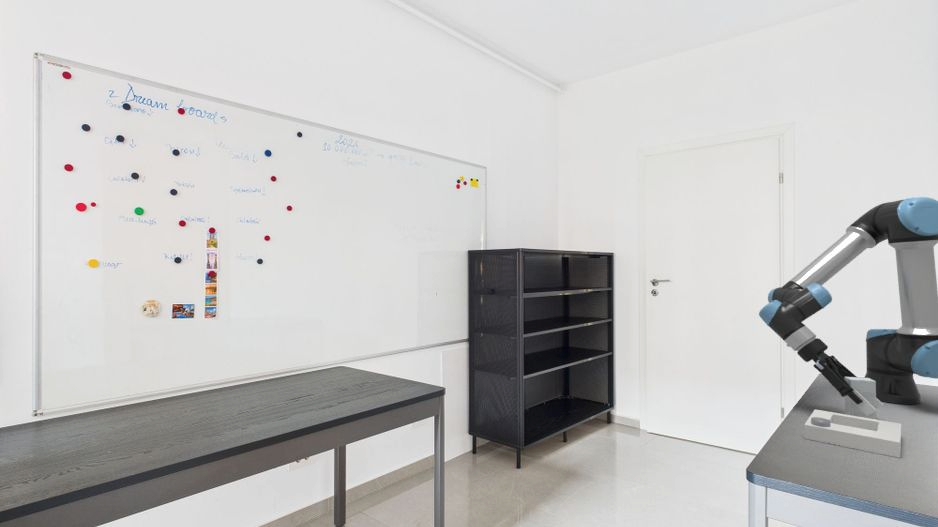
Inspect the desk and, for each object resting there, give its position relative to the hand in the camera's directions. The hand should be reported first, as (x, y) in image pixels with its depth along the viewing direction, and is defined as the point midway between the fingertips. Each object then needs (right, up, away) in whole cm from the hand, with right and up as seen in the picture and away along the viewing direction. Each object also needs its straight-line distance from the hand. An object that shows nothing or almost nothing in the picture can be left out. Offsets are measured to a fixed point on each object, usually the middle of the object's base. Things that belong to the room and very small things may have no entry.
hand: (875, 410), depth 132 cm
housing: (-15, -4, -11) cm, 19 cm away
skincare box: (-2, -4, +3) cm, 5 cm away
